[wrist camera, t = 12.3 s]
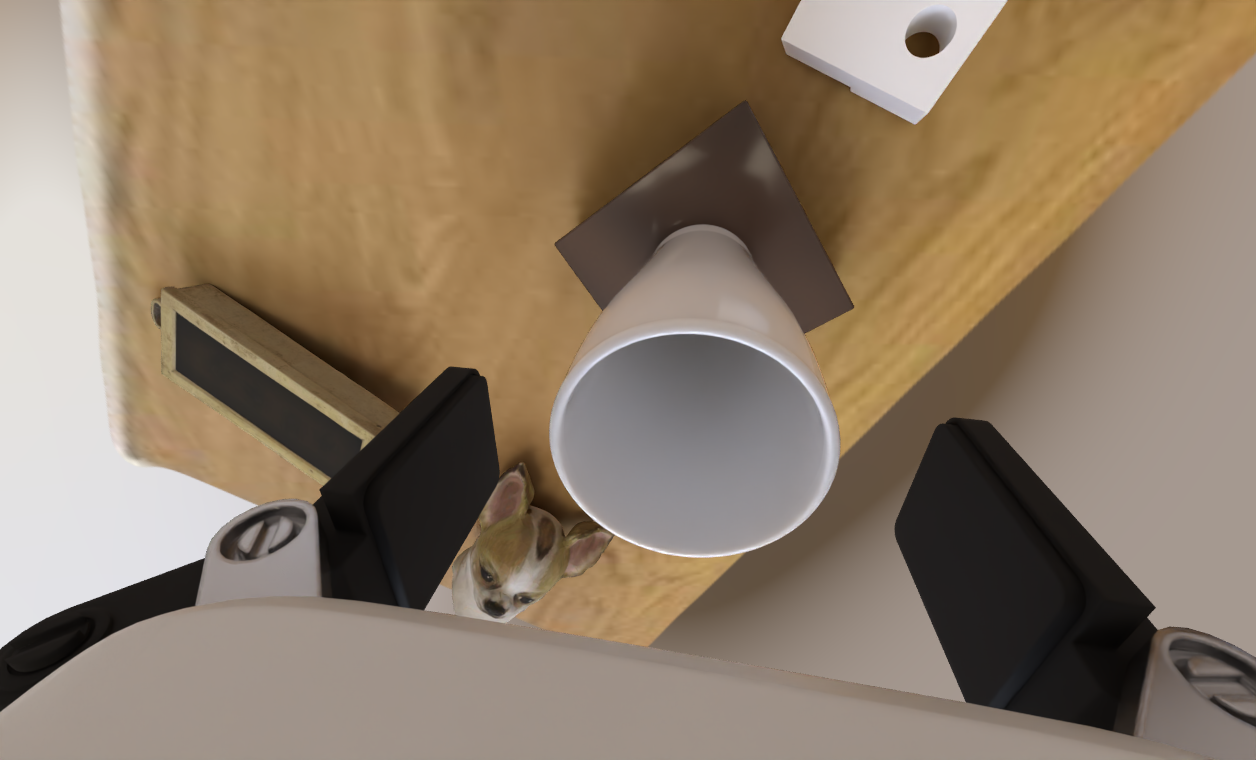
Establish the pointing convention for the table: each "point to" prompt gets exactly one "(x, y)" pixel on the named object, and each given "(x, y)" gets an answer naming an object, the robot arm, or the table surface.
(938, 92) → the bracket
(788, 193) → the walnut block
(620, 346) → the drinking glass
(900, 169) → the table surface
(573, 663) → the robot arm
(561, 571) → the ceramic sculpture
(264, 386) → the box
